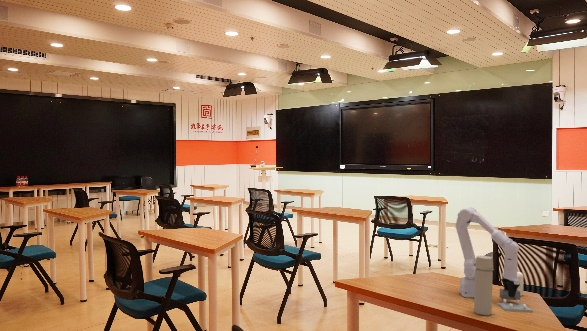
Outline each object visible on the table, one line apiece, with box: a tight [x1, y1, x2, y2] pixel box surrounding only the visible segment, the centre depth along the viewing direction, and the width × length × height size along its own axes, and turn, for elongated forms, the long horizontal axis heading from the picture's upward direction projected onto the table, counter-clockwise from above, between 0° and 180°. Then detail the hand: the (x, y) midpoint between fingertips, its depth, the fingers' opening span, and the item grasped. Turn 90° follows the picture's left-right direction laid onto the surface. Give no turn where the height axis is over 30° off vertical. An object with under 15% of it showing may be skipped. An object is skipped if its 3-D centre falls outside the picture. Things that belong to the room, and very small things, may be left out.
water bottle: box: [473, 255, 495, 317], centre depth 196 cm, size 9×8×25 cm
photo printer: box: [517, 271, 525, 297], centre depth 224 cm, size 10×4×12 cm, turn 123°
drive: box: [499, 288, 521, 301], centre depth 211 cm, size 8×4×4 cm, turn 86°
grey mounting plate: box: [496, 299, 533, 313], centre depth 203 cm, size 12×9×3 cm
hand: (509, 295), depth 211 cm, fingers closed on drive, 4 cm apart
